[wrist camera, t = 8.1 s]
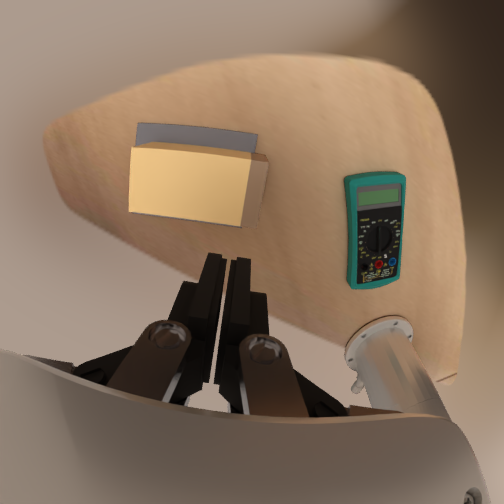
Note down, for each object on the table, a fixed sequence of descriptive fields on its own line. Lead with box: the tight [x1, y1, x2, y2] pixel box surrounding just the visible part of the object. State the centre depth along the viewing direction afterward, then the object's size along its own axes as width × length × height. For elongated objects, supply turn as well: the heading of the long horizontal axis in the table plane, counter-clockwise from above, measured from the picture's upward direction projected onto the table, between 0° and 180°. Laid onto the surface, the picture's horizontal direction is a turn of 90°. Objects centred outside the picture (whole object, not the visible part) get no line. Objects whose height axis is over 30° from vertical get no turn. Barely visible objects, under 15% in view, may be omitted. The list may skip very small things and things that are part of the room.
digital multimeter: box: [344, 172, 406, 289], centre depth 31 cm, size 7×15×3 cm, turn 10°
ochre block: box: [129, 142, 269, 229], centre depth 25 cm, size 6×6×12 cm
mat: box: [132, 123, 258, 228], centre depth 28 cm, size 10×13×1 cm
